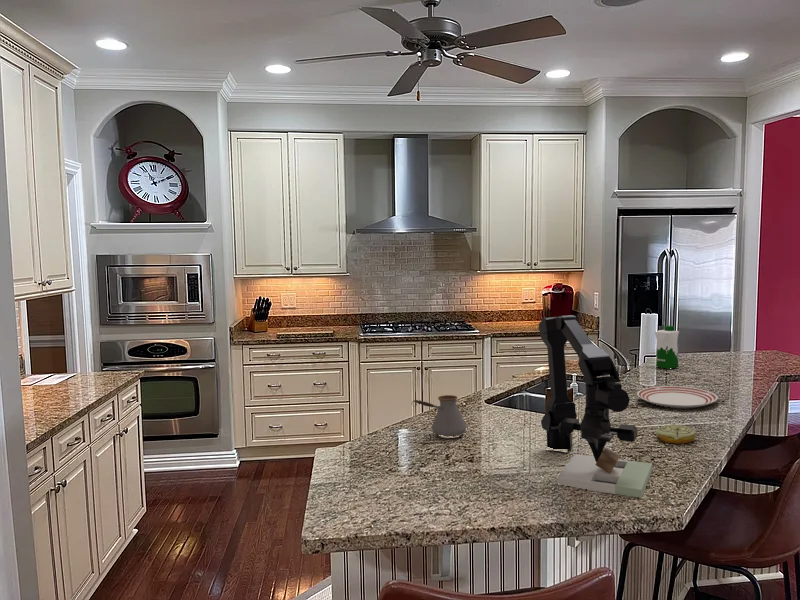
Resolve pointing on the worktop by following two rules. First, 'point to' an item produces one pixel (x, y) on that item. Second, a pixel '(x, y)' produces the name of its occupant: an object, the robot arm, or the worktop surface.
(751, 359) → the worktop surface
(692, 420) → the worktop surface
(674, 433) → the decorated donut
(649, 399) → the dinner plate
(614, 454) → the walnut block
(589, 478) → the trap deck
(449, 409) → the coffee pot
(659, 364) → the milk carton
